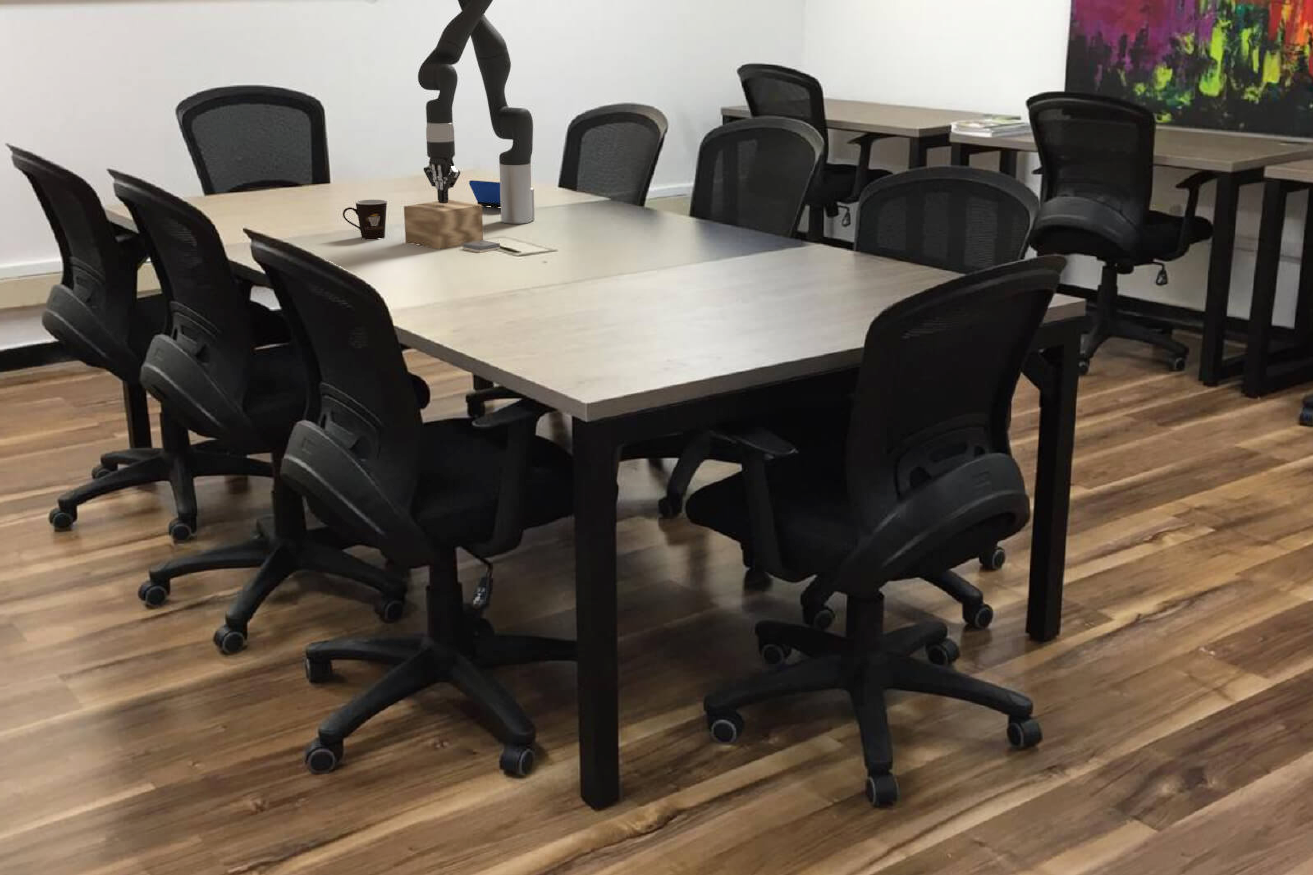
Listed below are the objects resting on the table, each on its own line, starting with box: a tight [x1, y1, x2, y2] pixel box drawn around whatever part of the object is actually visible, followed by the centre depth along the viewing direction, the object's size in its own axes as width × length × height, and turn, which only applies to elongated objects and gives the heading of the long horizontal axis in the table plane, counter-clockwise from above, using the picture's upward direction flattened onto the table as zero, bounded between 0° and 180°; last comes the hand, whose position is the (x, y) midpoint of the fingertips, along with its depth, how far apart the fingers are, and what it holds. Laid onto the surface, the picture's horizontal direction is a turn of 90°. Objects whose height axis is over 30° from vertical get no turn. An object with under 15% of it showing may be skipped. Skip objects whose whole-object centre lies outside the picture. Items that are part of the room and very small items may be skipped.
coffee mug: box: [342, 199, 388, 240], centre depth 416 cm, size 12×9×10 cm
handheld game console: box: [468, 179, 501, 207], centre depth 466 cm, size 16×13×9 cm
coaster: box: [462, 239, 501, 253], centre depth 401 cm, size 7×7×2 cm
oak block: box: [403, 199, 484, 250], centre depth 410 cm, size 16×14×10 cm
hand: (443, 203), depth 408 cm, fingers closed
